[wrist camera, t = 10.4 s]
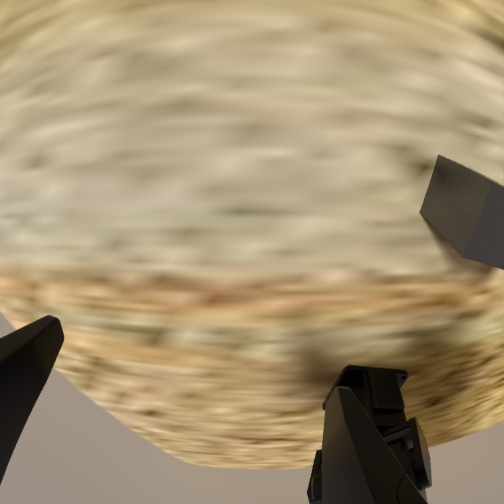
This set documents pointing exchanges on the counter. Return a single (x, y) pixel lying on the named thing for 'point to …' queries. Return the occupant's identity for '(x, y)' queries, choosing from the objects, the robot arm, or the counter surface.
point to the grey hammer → (467, 211)
